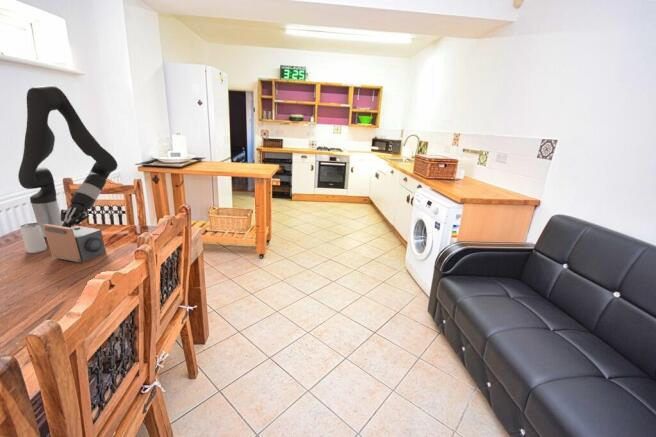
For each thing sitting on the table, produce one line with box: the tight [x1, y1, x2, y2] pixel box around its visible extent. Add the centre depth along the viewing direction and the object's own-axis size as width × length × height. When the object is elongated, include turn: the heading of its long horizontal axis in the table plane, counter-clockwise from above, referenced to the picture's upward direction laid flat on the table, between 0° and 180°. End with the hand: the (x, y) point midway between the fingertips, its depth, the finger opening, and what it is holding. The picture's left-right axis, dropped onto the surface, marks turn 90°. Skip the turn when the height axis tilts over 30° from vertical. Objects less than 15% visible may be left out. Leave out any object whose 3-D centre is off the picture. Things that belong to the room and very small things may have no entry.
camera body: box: [71, 225, 107, 263], centre depth 127 cm, size 16×10×12 cm, turn 75°
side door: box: [43, 224, 82, 263], centre depth 120 cm, size 14×2×15 cm, turn 75°
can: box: [19, 222, 48, 254], centre depth 130 cm, size 6×6×12 cm
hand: (62, 232), depth 120 cm, fingers closed
